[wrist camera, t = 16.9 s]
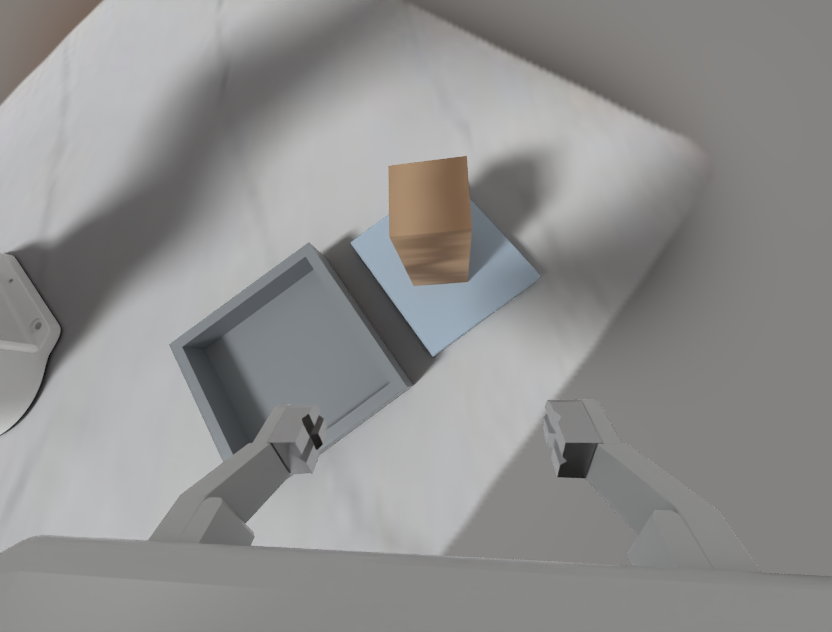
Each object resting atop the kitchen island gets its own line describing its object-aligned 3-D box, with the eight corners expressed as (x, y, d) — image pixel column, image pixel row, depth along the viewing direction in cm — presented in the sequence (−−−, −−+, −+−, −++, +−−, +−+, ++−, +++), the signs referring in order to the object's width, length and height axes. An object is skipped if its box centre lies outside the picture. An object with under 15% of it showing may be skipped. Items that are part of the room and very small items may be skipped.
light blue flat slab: (353, 247, 31) (350, 242, 30) (446, 178, 31) (446, 172, 30) (433, 357, 27) (432, 356, 26) (538, 279, 27) (541, 276, 26)
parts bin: (201, 348, 31) (169, 344, 28) (325, 257, 31) (308, 242, 28) (271, 490, 27) (243, 507, 24) (413, 385, 27) (406, 386, 24)
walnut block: (413, 286, 28) (389, 236, 18) (412, 235, 29) (388, 163, 19) (467, 282, 27) (471, 229, 18) (464, 230, 28) (466, 153, 19)
